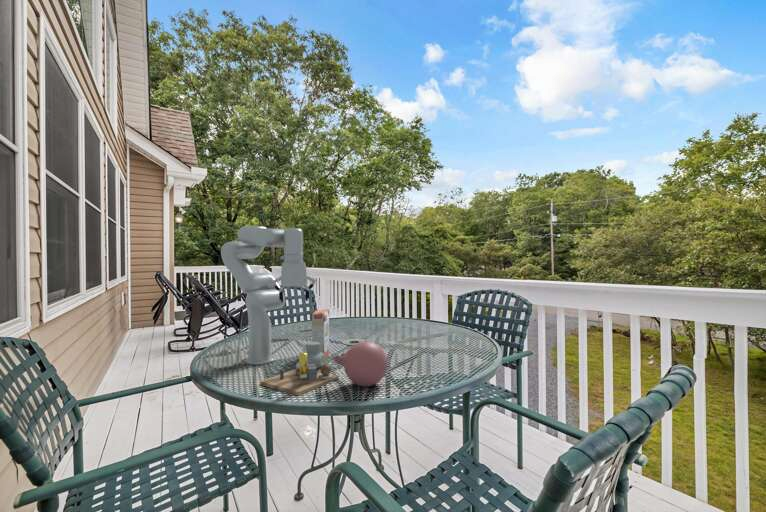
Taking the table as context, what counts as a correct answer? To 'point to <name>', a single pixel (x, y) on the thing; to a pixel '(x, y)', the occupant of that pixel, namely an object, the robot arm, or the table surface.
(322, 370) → the walnut ball
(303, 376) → the lever
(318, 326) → the cracker box
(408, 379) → the table surface
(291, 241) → the robot arm
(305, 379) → the base
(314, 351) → the air freshener
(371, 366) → the balloon
